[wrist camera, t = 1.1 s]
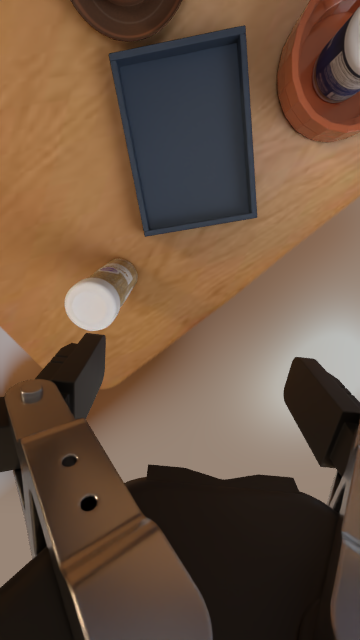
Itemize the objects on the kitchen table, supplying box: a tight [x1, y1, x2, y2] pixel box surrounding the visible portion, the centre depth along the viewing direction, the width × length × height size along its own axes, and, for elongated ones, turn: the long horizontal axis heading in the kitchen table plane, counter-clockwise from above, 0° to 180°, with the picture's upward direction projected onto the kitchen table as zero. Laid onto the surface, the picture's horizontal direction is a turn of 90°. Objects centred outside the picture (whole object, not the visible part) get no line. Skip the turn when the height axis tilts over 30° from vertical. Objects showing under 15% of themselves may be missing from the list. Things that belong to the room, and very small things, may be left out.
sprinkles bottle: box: [65, 259, 138, 331], centre depth 31 cm, size 5×5×14 cm
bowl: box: [277, 0, 360, 142], centre depth 27 cm, size 12×12×4 cm
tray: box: [109, 25, 257, 237], centre depth 31 cm, size 17×13×2 cm
